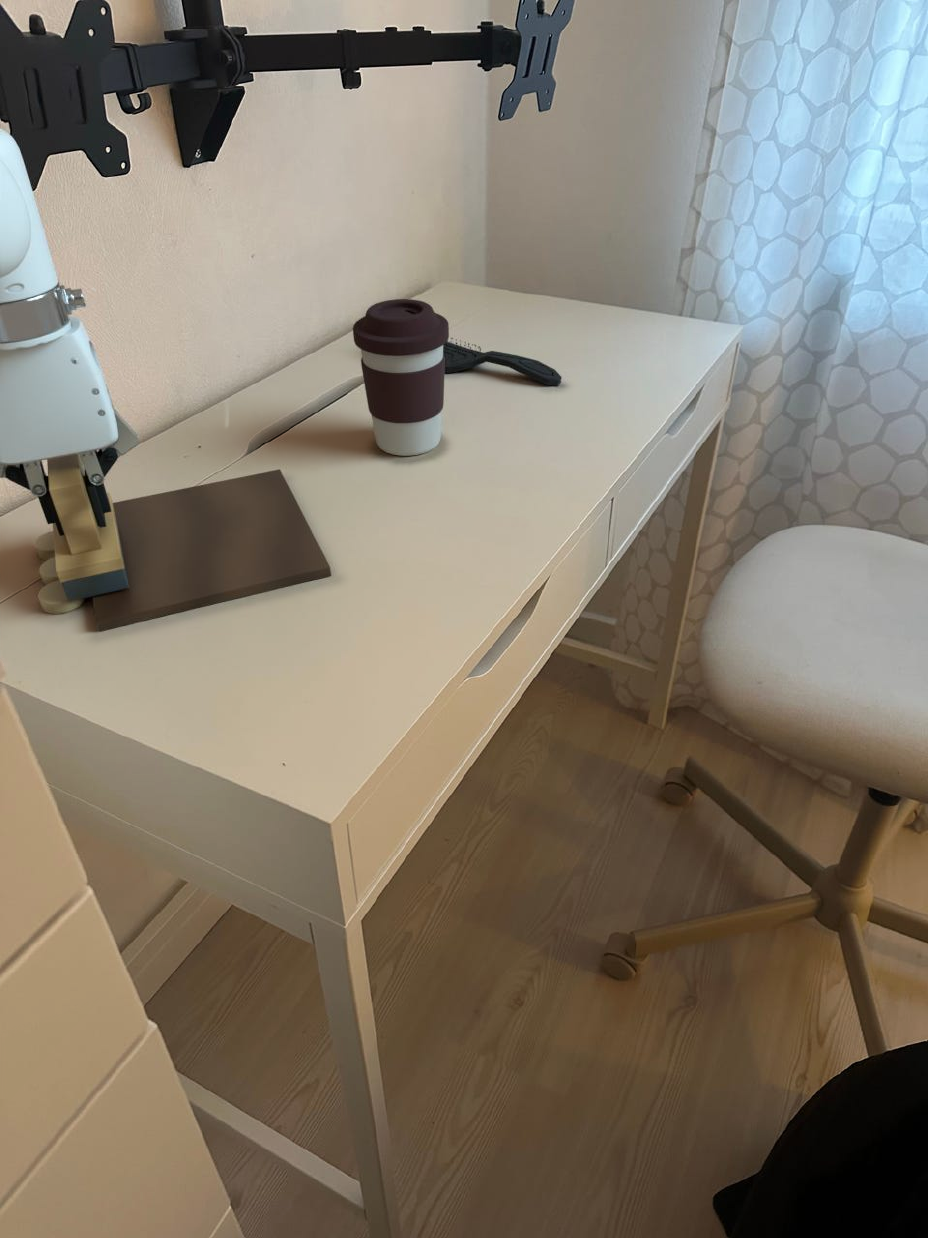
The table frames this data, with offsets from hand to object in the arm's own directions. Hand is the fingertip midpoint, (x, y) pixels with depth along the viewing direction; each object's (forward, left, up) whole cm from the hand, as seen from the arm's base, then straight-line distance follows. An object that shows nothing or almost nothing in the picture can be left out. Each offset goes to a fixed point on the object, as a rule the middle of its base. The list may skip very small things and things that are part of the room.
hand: (82, 522), depth 78 cm
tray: (+9, +1, -5) cm, 11 cm away
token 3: (-3, -4, -5) cm, 7 cm away
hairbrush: (+49, +30, -5) cm, 58 cm away
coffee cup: (+34, +13, -5) cm, 37 cm away
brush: (0, 0, -4) cm, 4 cm away
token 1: (-3, +5, -5) cm, 8 cm away
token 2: (-3, 0, -5) cm, 6 cm away
